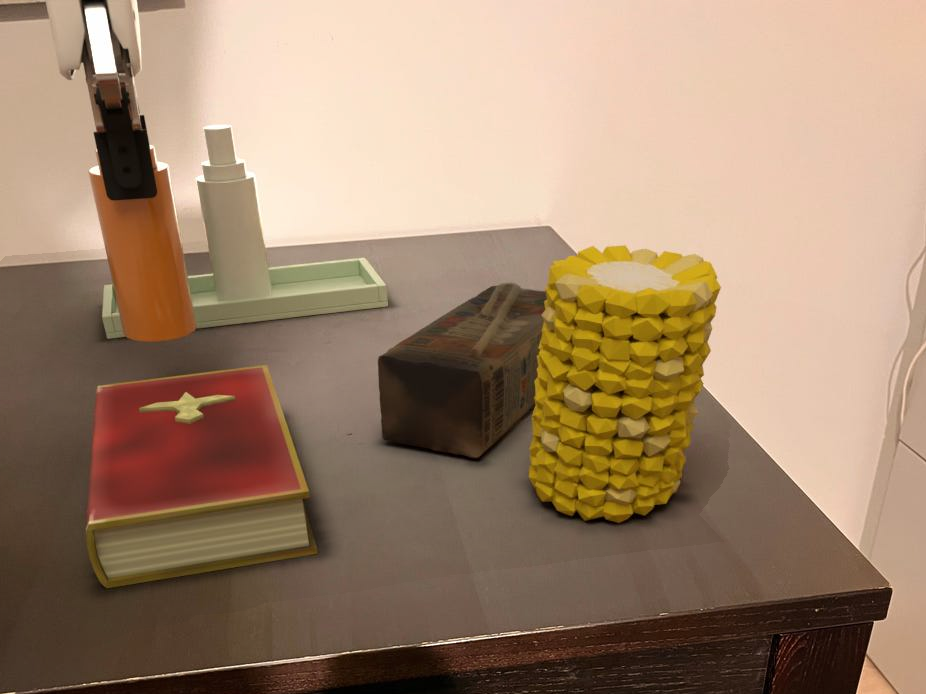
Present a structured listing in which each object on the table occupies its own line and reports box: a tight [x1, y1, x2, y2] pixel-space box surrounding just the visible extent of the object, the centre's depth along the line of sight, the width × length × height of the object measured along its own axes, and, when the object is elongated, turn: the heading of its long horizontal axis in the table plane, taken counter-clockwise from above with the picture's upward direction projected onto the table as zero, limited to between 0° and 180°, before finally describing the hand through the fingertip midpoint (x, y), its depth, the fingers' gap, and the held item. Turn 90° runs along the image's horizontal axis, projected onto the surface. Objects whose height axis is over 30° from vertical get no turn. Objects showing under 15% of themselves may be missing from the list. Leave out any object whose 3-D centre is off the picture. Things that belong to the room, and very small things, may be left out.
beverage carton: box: [377, 281, 547, 459], centre depth 73 cm, size 8×19×7 cm, turn 156°
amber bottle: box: [88, 106, 197, 343], centre depth 70 cm, size 5×5×15 cm
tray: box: [101, 257, 389, 340], centre depth 96 cm, size 26×11×2 cm, turn 106°
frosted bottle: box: [195, 124, 272, 302], centre depth 92 cm, size 5×5×15 cm
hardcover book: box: [85, 364, 319, 589], centre depth 63 cm, size 12×21×4 cm, turn 16°
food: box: [528, 244, 722, 524], centre depth 58 cm, size 15×12×10 cm
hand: (132, 185), depth 69 cm, fingers closed on amber bottle, 5 cm apart
